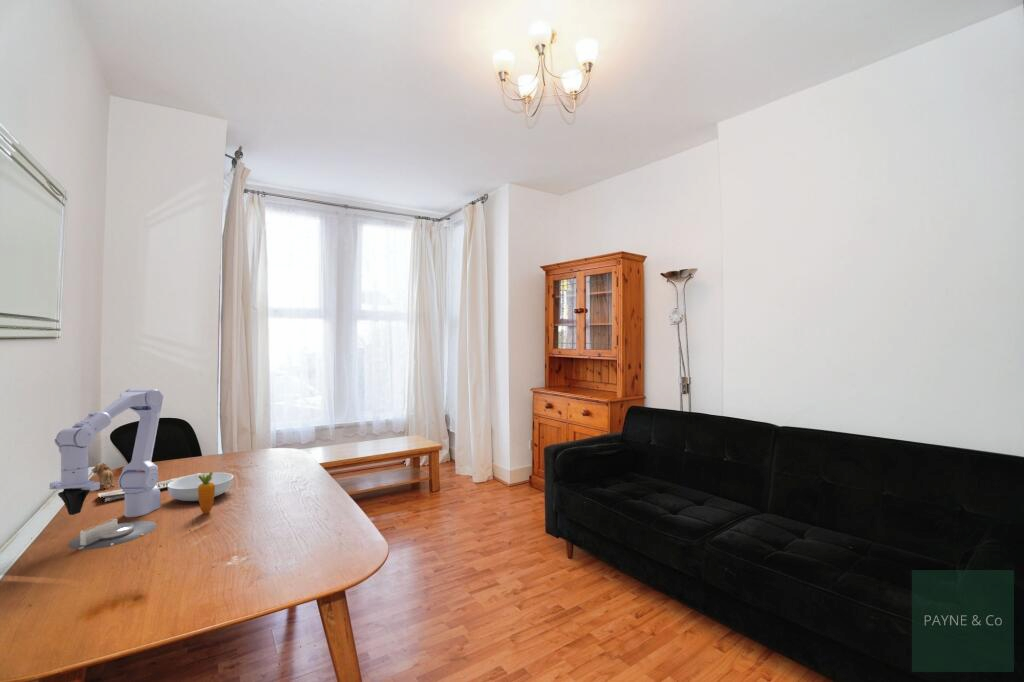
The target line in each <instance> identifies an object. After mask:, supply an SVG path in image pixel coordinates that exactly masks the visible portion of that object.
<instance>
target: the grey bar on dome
mask: <svg viewBox="0 0 1024 682" xmlns="http://www.w3.org/2000/svg"><path fill="white" fill-rule="evenodd" d="M122 523H123V524H119V523H118V518H110V519H108V520H105V521H103V522H100V523H98V524H95V525H92V526H90V527H87V528H84V529H82V530H80V533H79V534H80V535H79V536H80V545H88V544H90V543H92V542H95V541H97V540H98V541H105V540H112V539H116V538H120V537H123V536H126V535H128V534H130V533H132V532H133V531H134V524H132V523H125V522H122Z"/></svg>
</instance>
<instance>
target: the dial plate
mask: <svg viewBox="0 0 1024 682" xmlns="http://www.w3.org/2000/svg"><path fill="white" fill-rule="evenodd" d="M123 523H132V524H134V531H133V532H132V533H130V534H128V535H126V536H123V537H120V538H116V539H112V540H105V541H98V540H97V541H95V542H92V543H90V544H88V545H80V535H78V536H76V537H74V538H73V539H72V540H71V541H69V543H68V548H69V549H74V550H81V551H82V550H96V549H102V548H108V547H113V546H116V545H117V546H118V545H122V544H125V543H127V542H132V541H133V540H137V539H139V538H142V537H145V536H146V535H149V534H150V533H152V532H153V531H154V530H155V529H156V528H157V523H156V522H154V521H149V520H135V521H125V522H120V523H118V524H123Z"/></svg>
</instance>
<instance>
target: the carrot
mask: <svg viewBox="0 0 1024 682" xmlns="http://www.w3.org/2000/svg"><path fill="white" fill-rule="evenodd" d="M208 473H209V475H207V476H206V478H205V475H203V477H202V476H201V475H199V476H198V477H199V478H200V479H201V481H202V482H203V484H200V485H199V486H198V496H199V501H198V503H199V507H200V510H201V512H202V514H203V515H208V514H210V513H211V510H212V509H213V505H214V501H215V497H214V492H215V486H214V483H212V482H209V481H210V480H211V479H212V477H211V476H212V473H213V471H210V472H208Z"/></svg>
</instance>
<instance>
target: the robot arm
mask: <svg viewBox="0 0 1024 682" xmlns="http://www.w3.org/2000/svg"><path fill="white" fill-rule="evenodd" d="M163 400H164V394H163V393H162V392H161V390H159V389H157V388H127V389H126V390H125V391H122V392H121V393H120V394H119V397H118V398H117V399H115V400H114V401H113V402H112V403H110V404H109V405H108V406H107V407H105V408H104V409H103V410H102V411H90V412H89V413H88V416H86V417H84V418H83V419H82V420H79V421H77V422H75V423H74V425H73V426H72V427H66V428H63V429H61V430H60V431H58V433H57V435H56V437H55V438H54V439H53V440H54V443H55V445H56V446H57V447H58V452H59V453H60V480H56V481H51V482H50V483H49V490H62V491H61V492H60V491H59V492H58V494H57V496H58V497H59V498H60V500H62V502H63V503H64V505H65V508H66V511H67V513H68V515H69V516H75V515H76V514H80V513H81V511H82V508H83V506H84V502H85V501H86V498H87V496H88V495H89V494H90V493H91V492H92V491H93V492H94V491H97V490H100V489H101V486H100V481H93V480H90V479H89V445H92V443H93V442H94V440H95V437H96V436H97V435H98V434H99V433H100V432H102V431H103V430H104V429H106V428H107V427H109V426H110V425H111V423H112V419H114V418H115V417H116V416H118V415H120V414H122V413H123V412H125V411H126V410H128V409H130V410H131V411H133V412H135V413H136V414H137V415H138V416H139V420H138V421H139V422H138V426H137V432H136V435H135V440H134V441H135V442H134V447H133V451H132V457H131V460H130V462H128V464H126V465H125V466H123V467H122V471H121V474H120V475H119V477H118V480H117V485H118V488H119V489H122V492H125V498H124V517H126V518H135V517H136V518H137V517H139V516H141V517H142V516H144V515H147V514H150V513H152V512H153V511H156V510H158V509H160V508H161V490H159V488H158V487H156V486H155V485H156V484H157V482H159V474H158V471H159V470H158V469H159V466H158V465H156V464H155V463H154V462H152V460H153V459H152V458H153V453H154V448H155V443H156V438H157V437H156V436H157V431H158V428H159V421H160V416H161V410H162V405H163Z"/></svg>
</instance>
